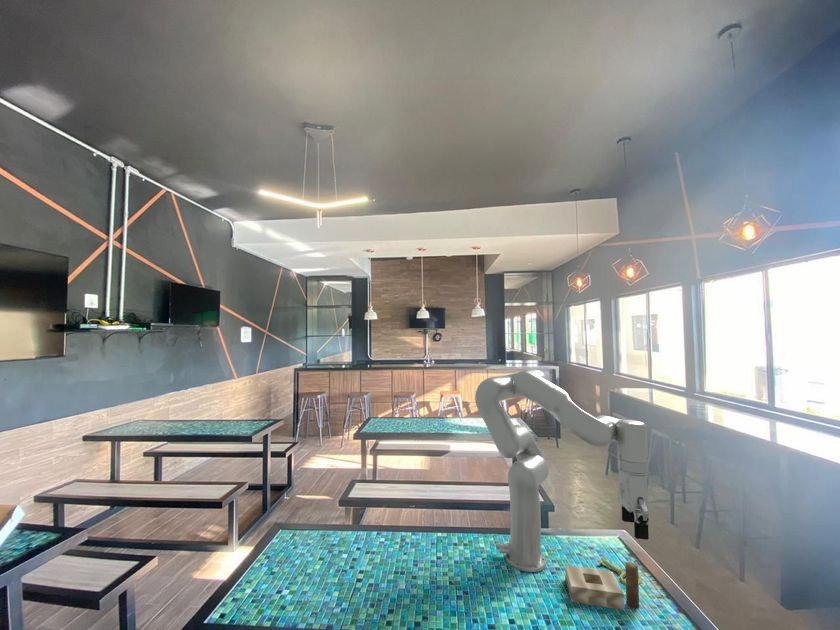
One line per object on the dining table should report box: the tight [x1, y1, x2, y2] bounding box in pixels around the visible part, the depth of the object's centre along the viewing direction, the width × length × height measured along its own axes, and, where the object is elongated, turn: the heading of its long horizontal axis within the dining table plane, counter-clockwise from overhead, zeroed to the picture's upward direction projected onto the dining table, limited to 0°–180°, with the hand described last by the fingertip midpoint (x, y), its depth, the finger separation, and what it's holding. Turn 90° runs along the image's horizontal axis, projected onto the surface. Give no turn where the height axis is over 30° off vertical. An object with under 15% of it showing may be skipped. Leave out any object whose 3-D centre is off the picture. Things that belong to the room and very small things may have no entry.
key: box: [597, 557, 643, 586], centre depth 113 cm, size 7×12×2 cm, turn 46°
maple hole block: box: [564, 564, 625, 611], centre depth 104 cm, size 13×10×4 cm
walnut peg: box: [624, 561, 640, 609], centre depth 100 cm, size 3×3×10 cm
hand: (634, 529), depth 102 cm, fingers open, 9 cm apart
